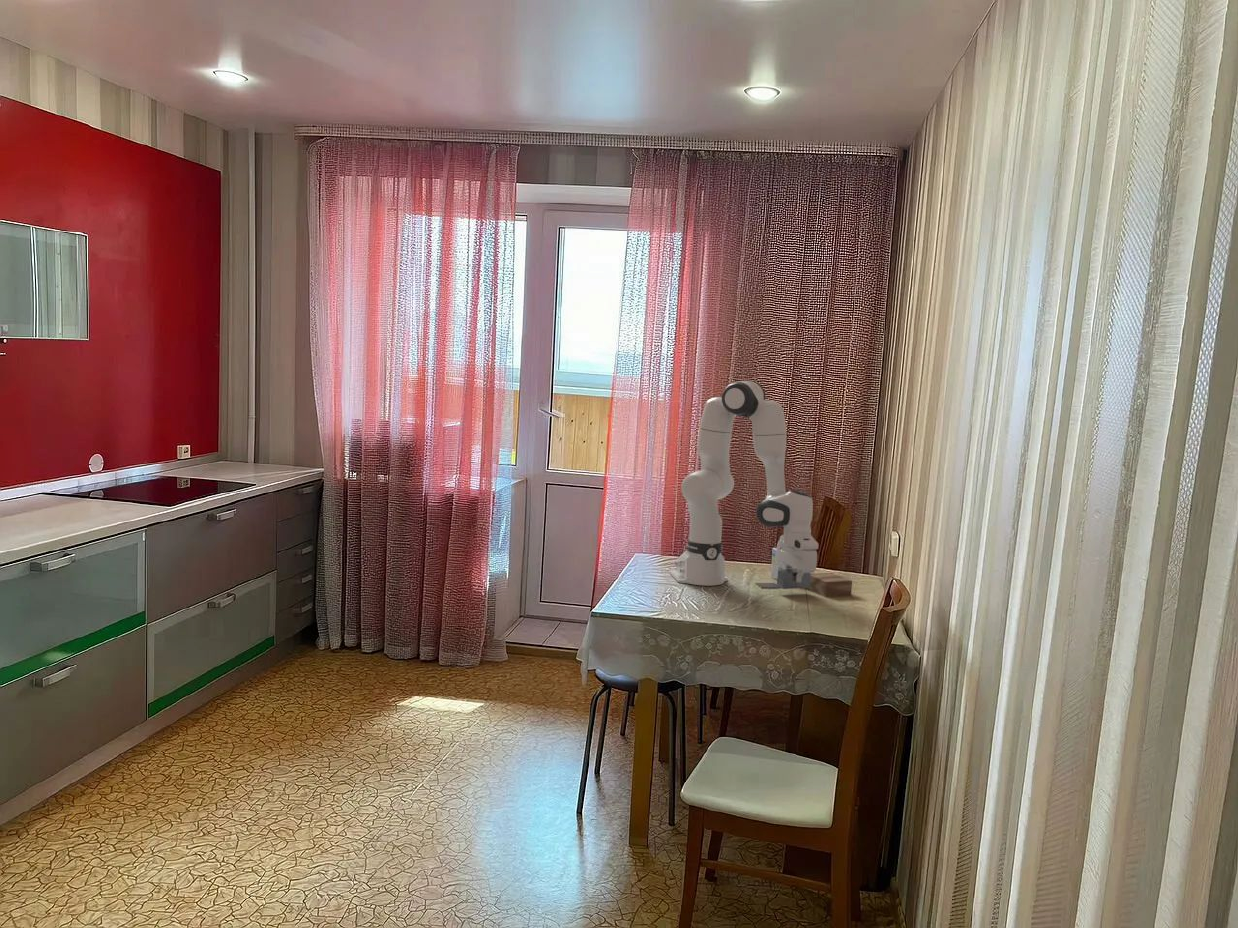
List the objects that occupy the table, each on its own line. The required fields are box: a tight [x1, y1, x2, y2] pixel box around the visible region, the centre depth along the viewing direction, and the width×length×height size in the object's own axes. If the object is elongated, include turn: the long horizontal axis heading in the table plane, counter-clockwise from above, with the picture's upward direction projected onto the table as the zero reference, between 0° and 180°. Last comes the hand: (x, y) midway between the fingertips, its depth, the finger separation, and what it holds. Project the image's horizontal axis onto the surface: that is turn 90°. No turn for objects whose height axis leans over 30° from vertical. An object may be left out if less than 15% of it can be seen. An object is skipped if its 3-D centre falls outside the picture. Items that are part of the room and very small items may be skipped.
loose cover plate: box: [754, 582, 781, 589], centre depth 319 cm, size 6×7×1 cm
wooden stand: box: [806, 572, 853, 598], centre depth 315 cm, size 12×10×5 cm
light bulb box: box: [770, 547, 796, 580], centre depth 329 cm, size 11×7×11 cm, turn 22°
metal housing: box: [776, 569, 811, 590], centre depth 309 cm, size 4×10×6 cm, turn 110°
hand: (793, 579), depth 309 cm, fingers closed on metal housing, 4 cm apart
